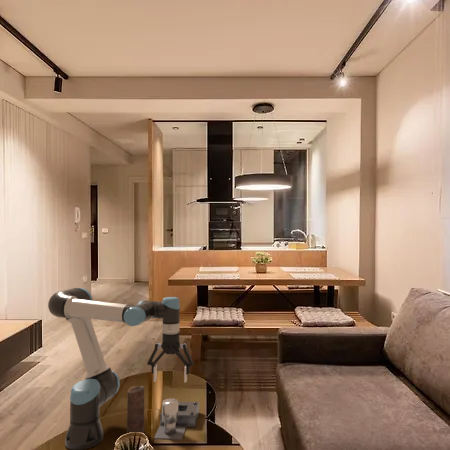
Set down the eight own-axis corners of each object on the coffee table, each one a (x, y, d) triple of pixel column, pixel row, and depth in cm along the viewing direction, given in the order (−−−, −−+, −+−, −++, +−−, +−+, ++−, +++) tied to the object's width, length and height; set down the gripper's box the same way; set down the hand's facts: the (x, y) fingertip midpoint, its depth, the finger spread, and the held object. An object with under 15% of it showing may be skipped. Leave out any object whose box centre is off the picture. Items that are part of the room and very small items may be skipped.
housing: (160, 425, 165) (160, 413, 165) (166, 411, 179) (167, 400, 179) (194, 426, 164) (194, 414, 164) (199, 412, 178) (199, 401, 178)
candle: (139, 440, 153) (139, 391, 154) (123, 438, 155) (124, 390, 156) (146, 430, 161) (147, 384, 162) (131, 429, 162) (132, 383, 163)
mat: (153, 438, 154) (153, 437, 154) (159, 426, 164) (159, 426, 164) (181, 439, 153) (181, 438, 153) (185, 427, 163) (185, 426, 163)
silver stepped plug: (160, 436, 155) (160, 405, 156) (164, 427, 162) (164, 398, 163) (176, 436, 155) (176, 405, 156) (179, 428, 162) (179, 398, 163)
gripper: (140, 334, 158) (140, 383, 157) (197, 335, 156) (197, 385, 155) (145, 329, 165) (145, 377, 164) (199, 331, 164) (199, 378, 163)
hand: (170, 381), depth 160 cm, fingers open, 13 cm apart
